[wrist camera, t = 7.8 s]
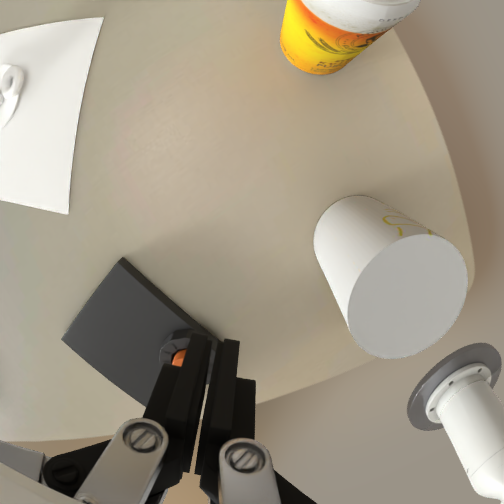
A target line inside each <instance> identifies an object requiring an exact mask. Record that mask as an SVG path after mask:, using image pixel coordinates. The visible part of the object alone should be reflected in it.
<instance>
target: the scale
mask: <svg viewBox="0 0 504 504" xmlns="http://www.w3.org/2000/svg"><path fill="white" fill-rule="evenodd" d="M192 332H195V333H199V334H204V335H208V338H207V339H209V340H213V343H212V350H211V356H210V362H209V369H208V375H207V381H206V384H209V383H210V378H211V373H212V368H213V363H214V358H215V353H216V348H217V343H218V341H219V340H218V339H217V338H216V337H214V336H213V335H212V334H211V333H209V332H208V331H207V330H206V329H204V328H203V327H202V326H201V325H200V324H198V323H197V322H196V321H195V320H194V319H192V318H191V317H190V316H189V315H188V314H186V313H185V312H184V311H183V310H182V309H180V308H179V307H178V306H177V305H176V304H175V303H173V302H172V301H171V300H170V299H169V298H168V297H167V296H165V295H164V294H163V293H162V292H161V291H160V290H159V289H157V288H156V287H155V286H154V285H153V284H152V283H151V282H150V281H149V280H147V279H146V278H145V277H144V276H143V275H142V274H141V273H140V272H139V271H138V270H136V269H135V268H134V267H133V266H132V265H131V264H130V263H129V262H128V261H127V260H126V259H125V258H124V257H122V258H121V259H120V260H119V261H118V262H117V263H116V264H115V266H114V267H113V268H112V270H111V271H110V272H109V273H108V275H107V276H106V277H105V279H104V280H103V281H102V283H101V284H100V285H99V287H98V288H97V289H96V291H95V292H94V293H93V295H92V296H91V297H90V299H89V300H88V301H87V303H86V304H85V306H84V307H83V308H82V310H81V311H80V313H79V314H78V315H77V317H76V318H75V320H74V321H73V323H72V324H71V325H70V327H69V328H68V330H67V331H66V333H65V334H64V336H63V337H62V339H61V340H62V341H64V342H65V343H66V344H67V345H68V346H69V347H70V348H71V349H72V350H74V351H75V352H76V353H77V354H78V355H79V356H80V357H82V358H83V359H84V360H85V361H86V362H87V363H89V364H90V365H91V366H92V367H93V368H95V369H96V370H97V371H98V372H100V373H101V374H102V375H103V376H105V377H106V378H107V379H108V380H110V381H111V382H112V383H114V384H115V385H116V386H117V387H119V388H120V389H121V390H123V391H124V392H126V393H127V394H128V395H130V396H131V397H132V398H134V399H135V400H137V401H138V402H139V403H141V404H142V405H144V406H145V407H147V404H148V402H149V399H150V396H151V394H152V391H153V389H154V386H155V384H156V381H157V378H158V376H159V373H160V371H161V368H162V366H163V364H164V363H167V364H172V363H173V360H174V357H175V355H176V353H177V352H179V351H180V350H183V349H187V347H188V344H189V341H190V338H191V335H192ZM219 342H221V341H219Z"/></svg>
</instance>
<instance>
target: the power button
mask: <svg viewBox="0 0 504 504" xmlns="http://www.w3.org/2000/svg"><path fill="white" fill-rule="evenodd" d="M186 350H187V349H183V350H180V351H179V352H177V353H176V355H175V357H174V360H173V363H172V365H176V366H180V367H181V365H182V362H183V359H184V356H185V353H186Z"/></svg>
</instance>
